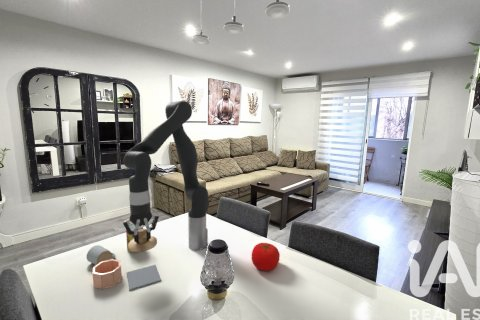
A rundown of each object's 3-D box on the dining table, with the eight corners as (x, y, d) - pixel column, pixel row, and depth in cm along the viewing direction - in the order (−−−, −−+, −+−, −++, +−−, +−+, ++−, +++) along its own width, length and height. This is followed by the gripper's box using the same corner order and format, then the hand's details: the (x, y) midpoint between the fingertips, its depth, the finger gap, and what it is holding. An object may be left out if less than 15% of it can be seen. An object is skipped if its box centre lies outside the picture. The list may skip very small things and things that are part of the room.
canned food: (133, 254, 117) (132, 231, 115) (124, 249, 121) (122, 227, 119) (147, 247, 123) (146, 225, 121) (137, 243, 127) (136, 222, 126)
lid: (154, 235, 105) (153, 222, 104) (159, 247, 96) (158, 233, 95) (126, 242, 99) (125, 228, 98) (129, 255, 90) (128, 239, 89)
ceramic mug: (98, 270, 104) (97, 254, 103) (86, 265, 107) (85, 249, 106) (119, 258, 113) (119, 243, 112) (108, 254, 117) (107, 239, 116)
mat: (155, 265, 108) (155, 264, 108) (161, 281, 98) (161, 279, 98) (126, 273, 102) (126, 272, 102) (129, 290, 92) (129, 289, 92)
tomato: (253, 256, 118) (254, 236, 116) (279, 259, 115) (280, 239, 114) (248, 273, 104) (249, 251, 102) (278, 278, 101) (279, 255, 100)
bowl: (120, 269, 104) (119, 257, 104) (122, 283, 96) (121, 269, 95) (94, 276, 99) (93, 263, 99) (93, 291, 91) (92, 277, 90)
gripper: (156, 195, 101) (158, 233, 104) (119, 201, 94) (122, 241, 97) (160, 201, 95) (162, 240, 98) (121, 207, 88) (124, 250, 91)
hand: (142, 241), depth 97 cm, fingers closed on lid, 3 cm apart
